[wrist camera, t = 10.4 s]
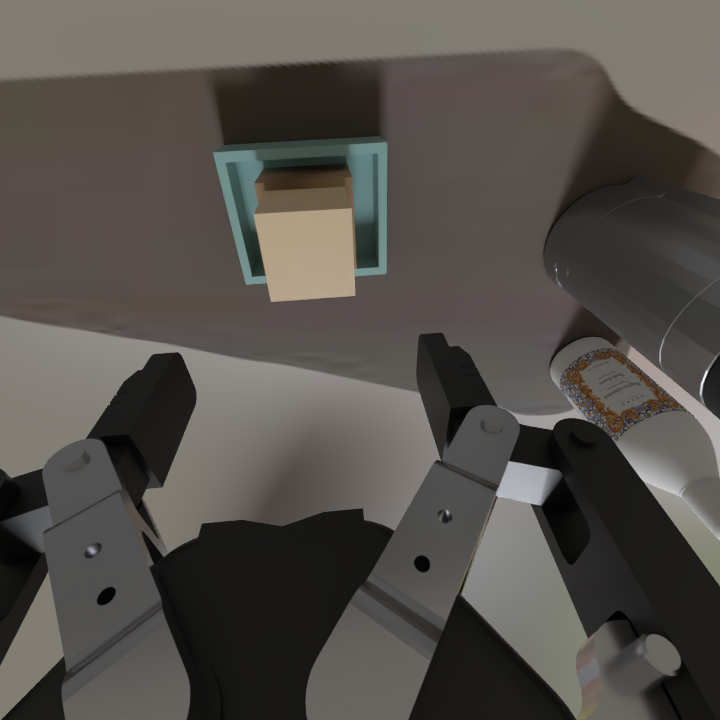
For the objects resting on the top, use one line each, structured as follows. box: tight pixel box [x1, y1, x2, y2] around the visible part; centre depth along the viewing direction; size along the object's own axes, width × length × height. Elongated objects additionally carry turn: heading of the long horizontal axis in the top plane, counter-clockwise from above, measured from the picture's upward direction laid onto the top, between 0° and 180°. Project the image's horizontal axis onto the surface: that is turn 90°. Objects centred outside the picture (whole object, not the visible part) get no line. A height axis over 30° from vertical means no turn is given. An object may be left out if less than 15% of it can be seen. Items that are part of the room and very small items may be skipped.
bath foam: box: [550, 337, 720, 540], centre depth 33 cm, size 7×7×20 cm
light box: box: [254, 187, 355, 302], centre depth 22 cm, size 5×5×5 cm
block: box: [254, 163, 357, 269], centre depth 26 cm, size 6×6×5 cm
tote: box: [213, 136, 387, 285], centre depth 27 cm, size 11×9×4 cm
